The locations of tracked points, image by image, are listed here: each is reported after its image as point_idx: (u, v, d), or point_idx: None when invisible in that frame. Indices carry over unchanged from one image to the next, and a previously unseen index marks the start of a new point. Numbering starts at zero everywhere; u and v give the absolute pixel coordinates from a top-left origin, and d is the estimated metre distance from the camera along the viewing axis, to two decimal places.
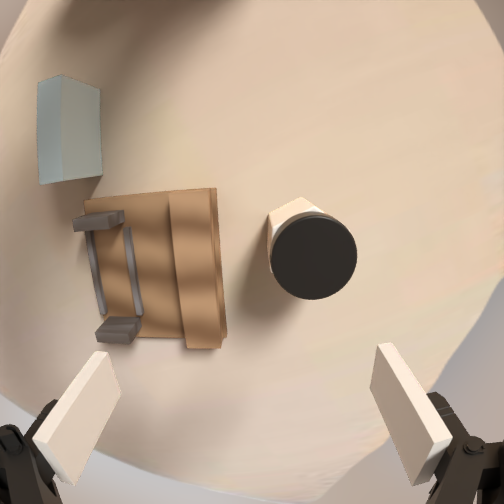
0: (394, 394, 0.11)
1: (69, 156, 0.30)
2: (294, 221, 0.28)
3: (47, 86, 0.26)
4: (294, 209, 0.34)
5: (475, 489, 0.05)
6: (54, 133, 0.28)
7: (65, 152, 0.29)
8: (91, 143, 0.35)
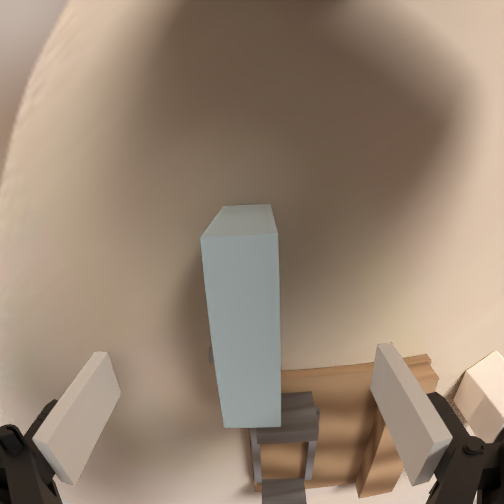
0: (394, 394, 0.11)
1: None
2: None
3: (234, 255, 0.15)
4: None
5: (475, 489, 0.05)
6: (262, 360, 0.16)
7: None
8: None
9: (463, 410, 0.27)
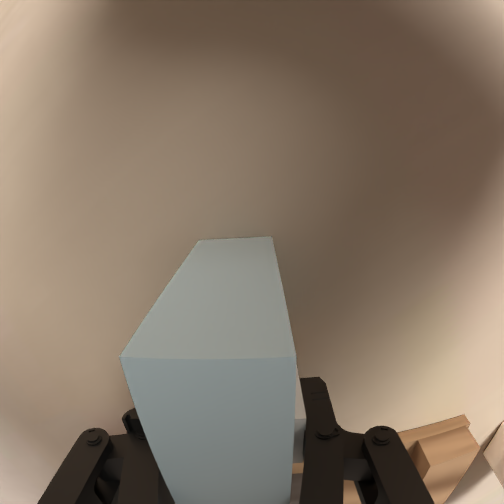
0: None
1: None
2: None
3: (196, 394, 0.06)
4: None
5: (341, 471, 0.07)
6: None
7: None
8: None
9: (495, 466, 0.18)
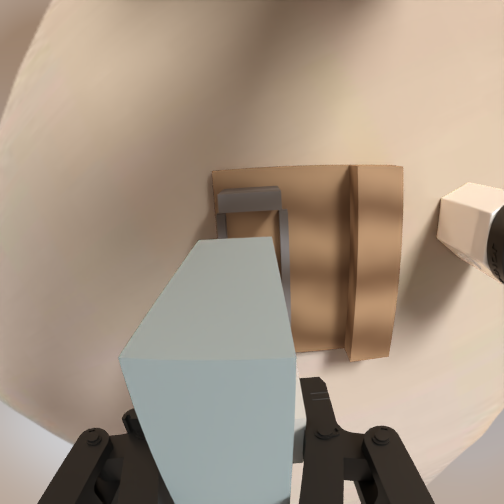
0: None
1: None
2: None
3: (196, 395, 0.06)
4: (489, 195, 0.25)
5: (341, 471, 0.07)
6: None
7: None
8: None
9: (448, 238, 0.29)
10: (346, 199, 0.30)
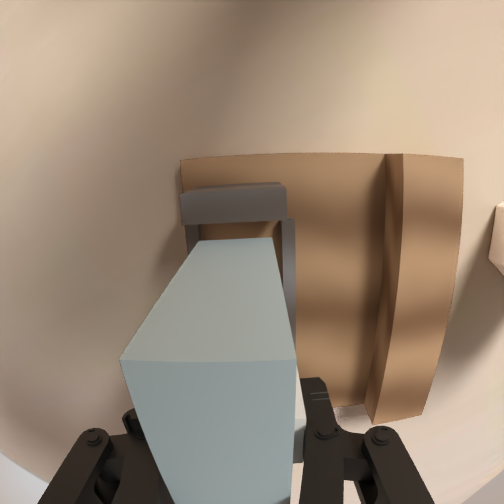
0: None
1: None
2: None
3: (196, 397, 0.06)
4: None
5: (341, 471, 0.07)
6: None
7: None
8: None
9: None
10: (381, 204, 0.20)
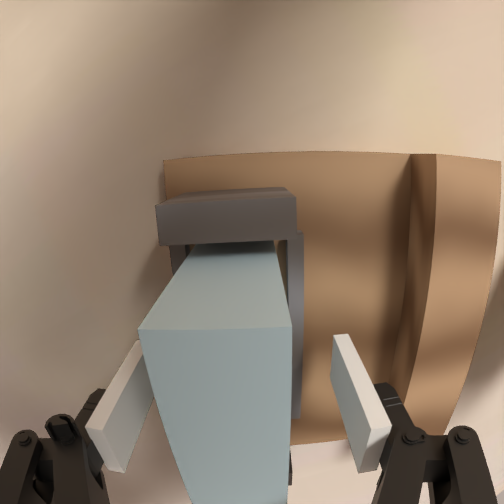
0: (344, 382, 0.13)
1: None
2: None
3: (205, 363, 0.07)
4: None
5: (421, 478, 0.06)
6: (260, 490, 0.09)
7: None
8: None
9: None
10: (405, 214, 0.16)
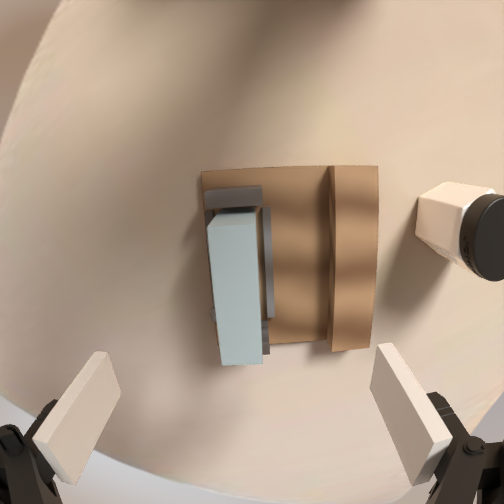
0: (394, 394, 0.11)
1: None
2: (492, 201, 0.22)
3: (228, 237, 0.24)
4: (463, 191, 0.27)
5: (475, 489, 0.05)
6: (247, 309, 0.25)
7: None
8: None
9: (425, 234, 0.32)
10: (326, 197, 0.33)
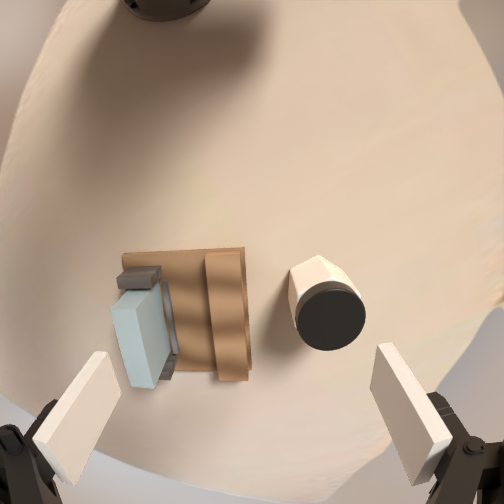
0: (394, 394, 0.11)
1: (153, 366, 0.40)
2: (317, 293, 0.35)
3: (122, 316, 0.36)
4: (314, 274, 0.40)
5: (475, 489, 0.05)
6: (139, 356, 0.38)
7: (151, 367, 0.39)
8: (161, 335, 0.45)
9: (289, 301, 0.45)
10: None
